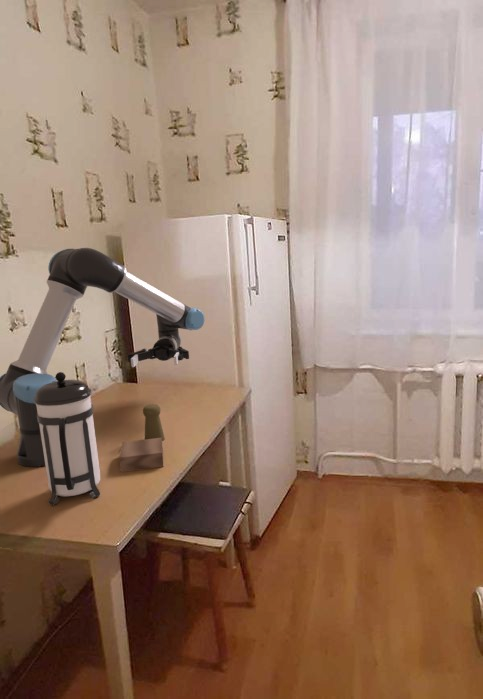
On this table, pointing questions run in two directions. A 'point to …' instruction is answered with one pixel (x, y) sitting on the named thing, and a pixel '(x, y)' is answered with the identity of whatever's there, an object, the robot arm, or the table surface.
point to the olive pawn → (152, 422)
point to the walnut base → (141, 454)
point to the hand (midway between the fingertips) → (153, 361)
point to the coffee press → (68, 438)
